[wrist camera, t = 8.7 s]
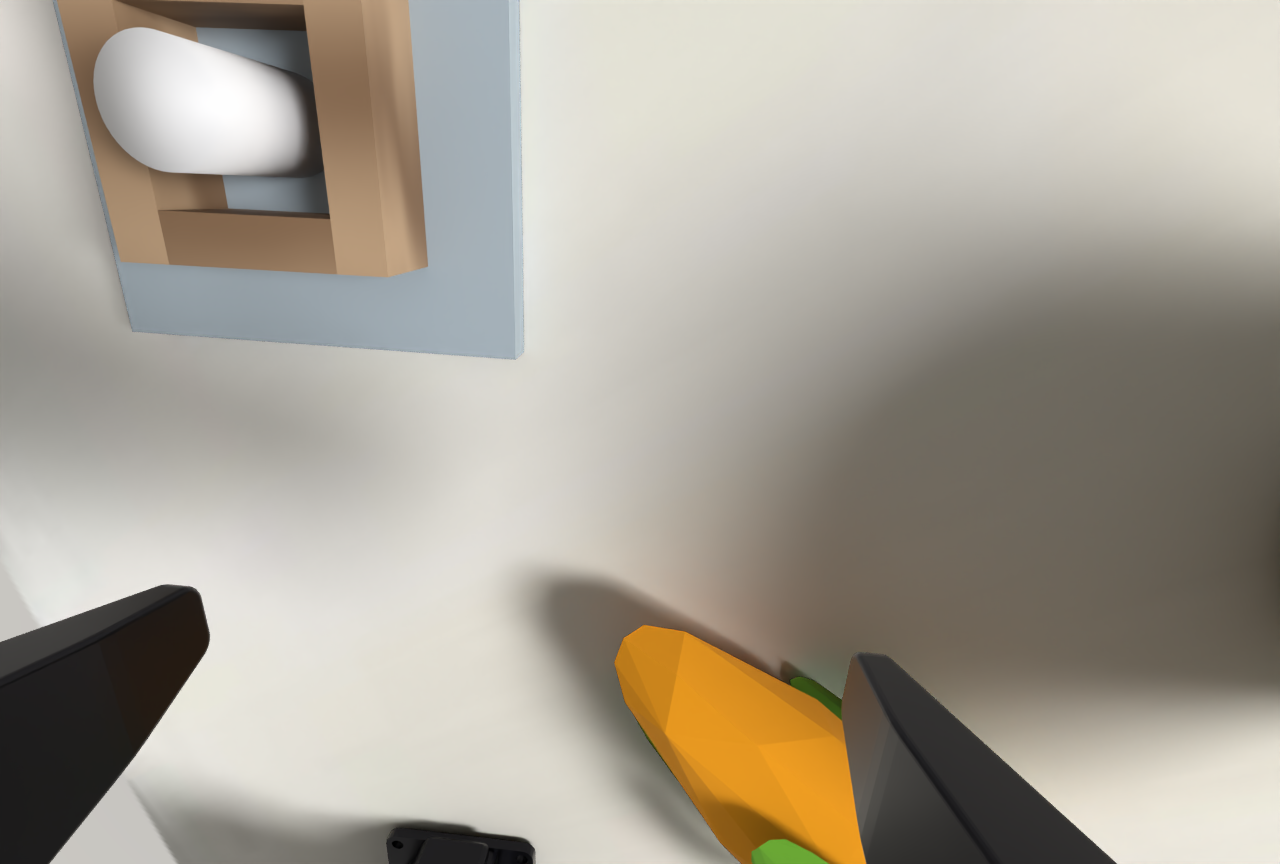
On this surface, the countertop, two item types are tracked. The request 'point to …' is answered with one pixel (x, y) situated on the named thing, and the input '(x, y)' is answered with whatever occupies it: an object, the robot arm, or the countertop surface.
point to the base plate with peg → (295, 181)
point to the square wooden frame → (349, 132)
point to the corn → (745, 748)
